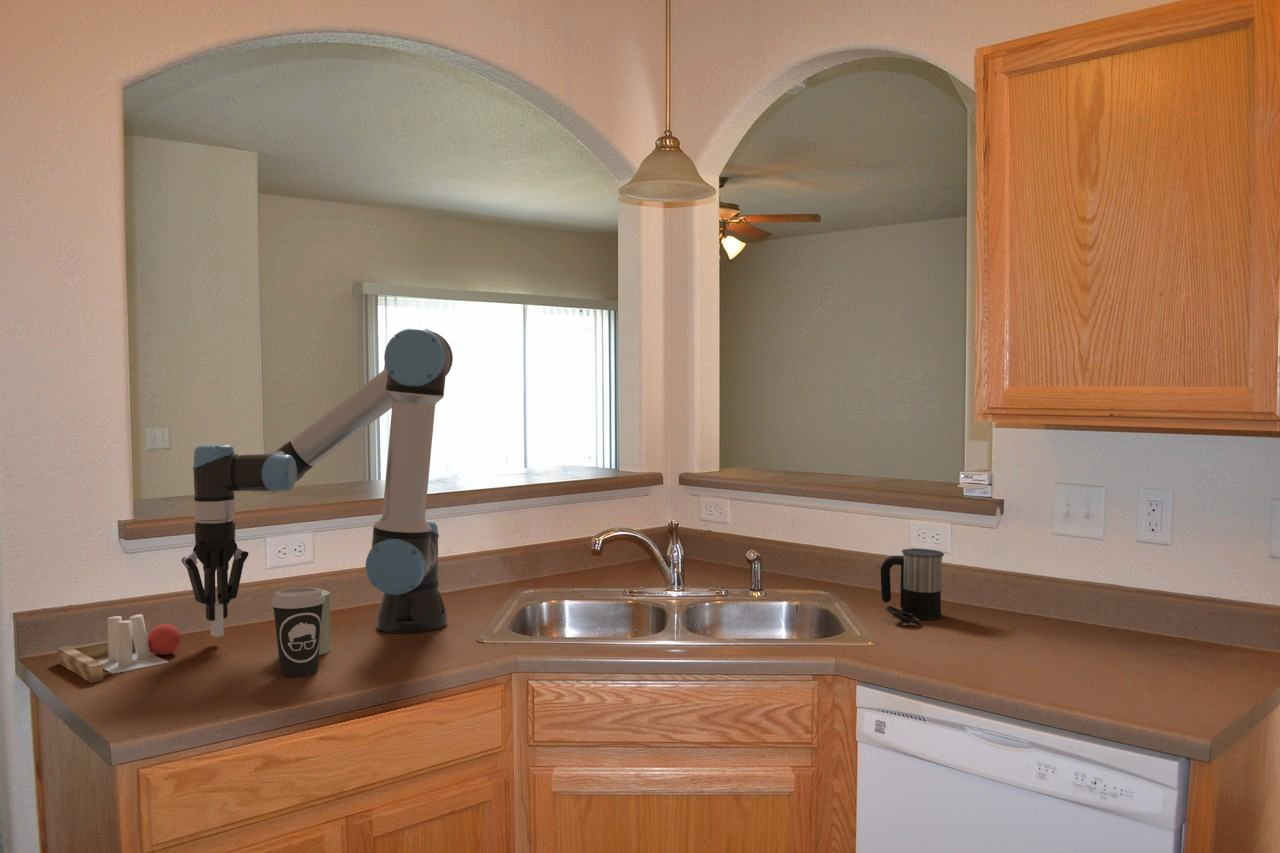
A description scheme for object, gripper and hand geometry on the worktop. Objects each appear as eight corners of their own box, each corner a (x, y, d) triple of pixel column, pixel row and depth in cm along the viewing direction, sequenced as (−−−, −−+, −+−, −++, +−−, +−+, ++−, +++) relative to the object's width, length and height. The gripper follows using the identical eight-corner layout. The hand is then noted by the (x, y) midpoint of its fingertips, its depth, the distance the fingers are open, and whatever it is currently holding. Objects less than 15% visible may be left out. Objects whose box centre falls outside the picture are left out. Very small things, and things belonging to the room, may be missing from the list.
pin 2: (134, 666, 183) (133, 621, 182) (120, 669, 181) (119, 624, 181) (129, 663, 184) (128, 619, 184) (116, 666, 183) (115, 622, 182)
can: (272, 653, 191) (271, 593, 191) (308, 642, 199) (307, 585, 199) (306, 660, 187) (304, 598, 186) (341, 648, 195) (340, 589, 194)
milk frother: (936, 611, 226) (937, 548, 225) (956, 628, 210) (957, 560, 210) (875, 610, 227) (875, 547, 226) (890, 627, 211) (890, 560, 210)
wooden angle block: (193, 661, 186) (193, 646, 185) (91, 683, 172) (90, 666, 172) (156, 645, 198) (156, 630, 198) (58, 663, 184) (57, 648, 184)
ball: (147, 651, 186) (175, 662, 189) (164, 622, 188) (191, 633, 191) (136, 645, 190) (163, 655, 194) (152, 616, 192) (179, 627, 196)
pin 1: (124, 661, 186) (123, 617, 186) (111, 663, 184) (110, 619, 184) (120, 658, 188) (118, 615, 187) (106, 661, 186) (105, 617, 186)
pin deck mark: (168, 662, 185) (168, 661, 185) (112, 674, 178) (112, 673, 178) (144, 651, 193) (144, 650, 193) (89, 661, 186) (89, 660, 186)
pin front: (153, 657, 188) (144, 615, 186) (140, 661, 186) (131, 619, 184) (148, 654, 189) (139, 613, 188) (135, 659, 187) (126, 617, 186)
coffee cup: (336, 666, 183) (335, 587, 182) (308, 681, 173) (306, 598, 173) (291, 662, 185) (289, 585, 184) (260, 677, 175) (259, 595, 175)
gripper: (238, 515, 204) (240, 626, 205) (174, 522, 195) (176, 638, 196) (254, 519, 199) (256, 632, 200) (190, 525, 190) (192, 644, 191)
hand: (217, 635), depth 198 cm, fingers closed
